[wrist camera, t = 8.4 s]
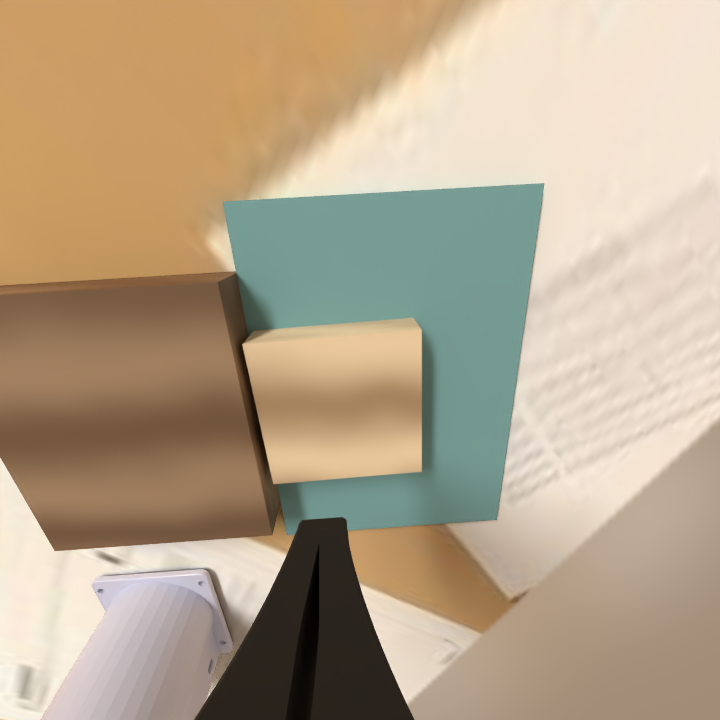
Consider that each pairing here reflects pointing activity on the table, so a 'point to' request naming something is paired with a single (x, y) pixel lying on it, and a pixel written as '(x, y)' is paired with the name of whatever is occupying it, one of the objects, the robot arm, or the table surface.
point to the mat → (398, 301)
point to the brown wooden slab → (133, 411)
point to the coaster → (338, 398)
